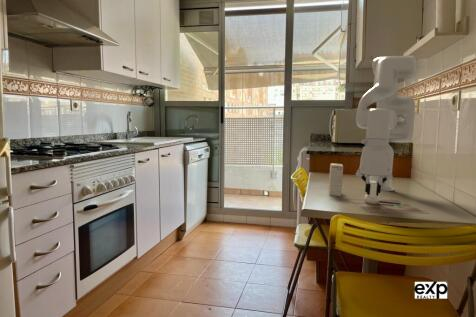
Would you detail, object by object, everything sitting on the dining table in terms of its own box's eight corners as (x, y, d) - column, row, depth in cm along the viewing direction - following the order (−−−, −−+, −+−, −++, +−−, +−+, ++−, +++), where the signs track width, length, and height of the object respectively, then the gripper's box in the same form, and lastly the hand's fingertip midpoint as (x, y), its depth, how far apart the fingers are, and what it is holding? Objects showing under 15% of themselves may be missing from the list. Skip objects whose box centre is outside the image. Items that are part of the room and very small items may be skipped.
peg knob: (364, 203, 128) (366, 183, 128) (364, 200, 135) (365, 180, 134) (401, 207, 125) (403, 186, 124) (398, 203, 131) (400, 183, 131)
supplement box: (341, 199, 142) (343, 165, 140) (328, 197, 143) (331, 165, 141) (339, 195, 150) (342, 163, 148) (327, 194, 151) (330, 162, 149)
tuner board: (342, 199, 140) (342, 196, 140) (391, 200, 142) (391, 197, 142) (370, 216, 116) (370, 212, 116) (429, 217, 118) (429, 213, 118)
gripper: (354, 142, 127) (349, 194, 129) (403, 145, 123) (398, 198, 125) (352, 142, 134) (348, 191, 136) (398, 144, 130) (394, 194, 132)
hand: (372, 194), depth 130 cm, fingers closed on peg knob, 2 cm apart
